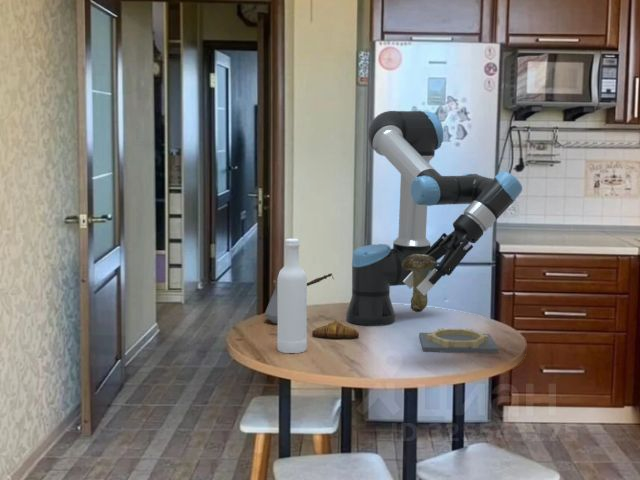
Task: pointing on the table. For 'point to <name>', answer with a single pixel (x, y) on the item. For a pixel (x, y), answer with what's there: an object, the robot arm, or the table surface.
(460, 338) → the gear board
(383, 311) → the robot arm
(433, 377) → the table surface
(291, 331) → the bottle
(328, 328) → the croissant
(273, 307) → the coffee pot
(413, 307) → the mushroom
